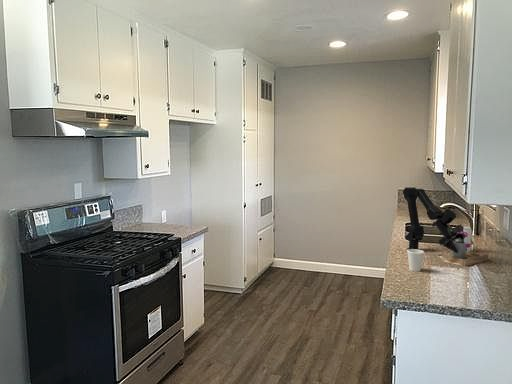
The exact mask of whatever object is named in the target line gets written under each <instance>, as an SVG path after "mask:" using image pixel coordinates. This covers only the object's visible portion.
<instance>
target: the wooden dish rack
mask: <svg viewBox="0 0 512 384" xmlns="http://www.w3.org/2000/svg"><path fill="white" fill-rule="evenodd" d="M485 261H489V253H480V254H479V253H475V252H471V251H469V252H467V251H466V254H465V259H460V258H455V257H453V256H451V255H446V258H445V259H442V260H441V261H440V262H446V263H450V264H454V265H458V266H461V267H468V266H471V265H475V264H479V263H482V262H485Z"/></svg>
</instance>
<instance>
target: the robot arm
mask: <svg viewBox="0 0 512 384" xmlns="http://www.w3.org/2000/svg"><path fill="white" fill-rule="evenodd" d="M402 193H403V198H404V199H405V201H406V202H407V207H408V214H409V221H410V226H409V227H408V232H407V234H406V236H405V240H406V241H408V247H406V249H407V250H410V249H417V250H421V249H420V248H419V244H420V241H423V238H424V236H425V230H424V226H423V225H421V224H420V219H419V212H418V206H417V199H419V201H420V202H421V203H422V205H423V207H424V208H425V210H426V215H427V217H428V219H429V220H431V221H433V222H432V226H431V227H432V228H434V227H436V229H437V230H438V231H439V235H441V236H442V237H441V238H440V239H438V244H439V245H440V246H442V247H445V248H447V249H449V250H450V251H452V252H453V251H454V252H456V253H458V250H457V249H456V247H455V246H454V243H455V242H458V239H462V243H464V238H465V236H466V235H465V234H464V233H458V232H461V231H462V232H463V229H464V227H463V225H462V224H457V225H456V226H455V227H453V226H450V224H451V223H452V222H453V221H454V220H455V219H456V218H457V214H456V213H455V212H454V211H453V210H451V209H450V208H446V209H445V210H444V211H443V210H441V208H440V207H438V206H436V205H435V204H434V203H433V201H432V200H431V199H430V197H429V196H428V195H427V193H426V190H425V189H424V188H417V187H415V186H414V187H411V186H410V187H409V186H408V187H404V189H403V190H402ZM466 250H467V248H466Z"/></svg>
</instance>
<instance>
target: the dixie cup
mask: <svg viewBox="0 0 512 384" xmlns="http://www.w3.org/2000/svg"><path fill="white" fill-rule="evenodd" d="M406 251H407V259H408V270H409V271H410V272H411V271H413V272H420V271H421V270H422V266H423V259H424V254H425V251H424V250H423V249H422V250H421V249H420V250H417V249H410V250H408V249H407V250H406Z"/></svg>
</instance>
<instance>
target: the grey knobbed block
mask: <svg viewBox="0 0 512 384" xmlns="http://www.w3.org/2000/svg"><path fill="white" fill-rule="evenodd" d="M453 244H454V246H455V247H456V249H457V250H458V253H456V252H454V251H452V252H453V253H452V254H453V255H452V257H455V258H460V259H465V254H466V243H462V239H458V242H453Z"/></svg>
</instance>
